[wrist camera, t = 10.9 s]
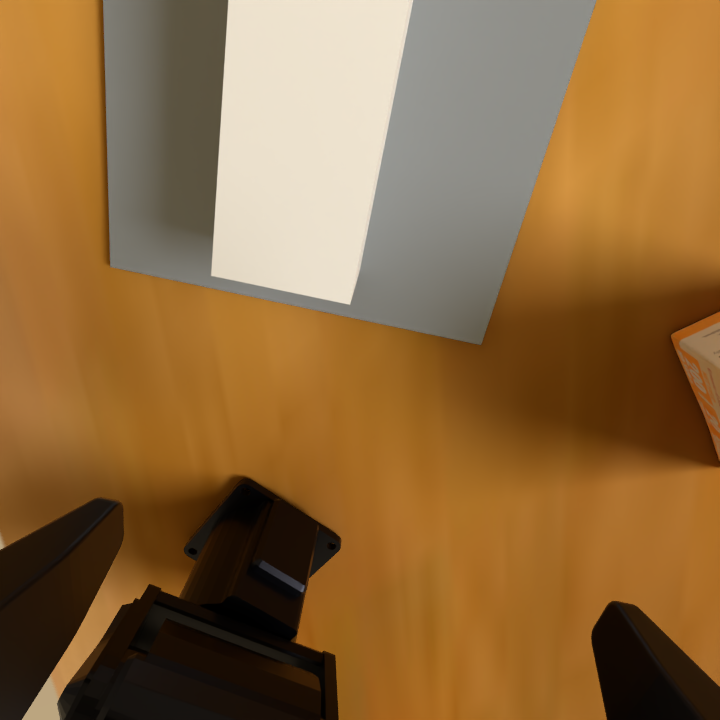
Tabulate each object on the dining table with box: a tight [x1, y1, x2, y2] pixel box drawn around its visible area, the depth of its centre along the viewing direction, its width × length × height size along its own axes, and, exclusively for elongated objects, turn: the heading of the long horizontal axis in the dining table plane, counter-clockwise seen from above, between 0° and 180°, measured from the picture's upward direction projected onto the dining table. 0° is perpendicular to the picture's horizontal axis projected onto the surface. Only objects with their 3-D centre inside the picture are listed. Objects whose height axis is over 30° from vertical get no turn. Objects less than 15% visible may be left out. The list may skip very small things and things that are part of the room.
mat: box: [103, 0, 596, 345], centre depth 17 cm, size 16×16×1 cm
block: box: [211, 0, 413, 305], centre depth 14 cm, size 4×4×13 cm
